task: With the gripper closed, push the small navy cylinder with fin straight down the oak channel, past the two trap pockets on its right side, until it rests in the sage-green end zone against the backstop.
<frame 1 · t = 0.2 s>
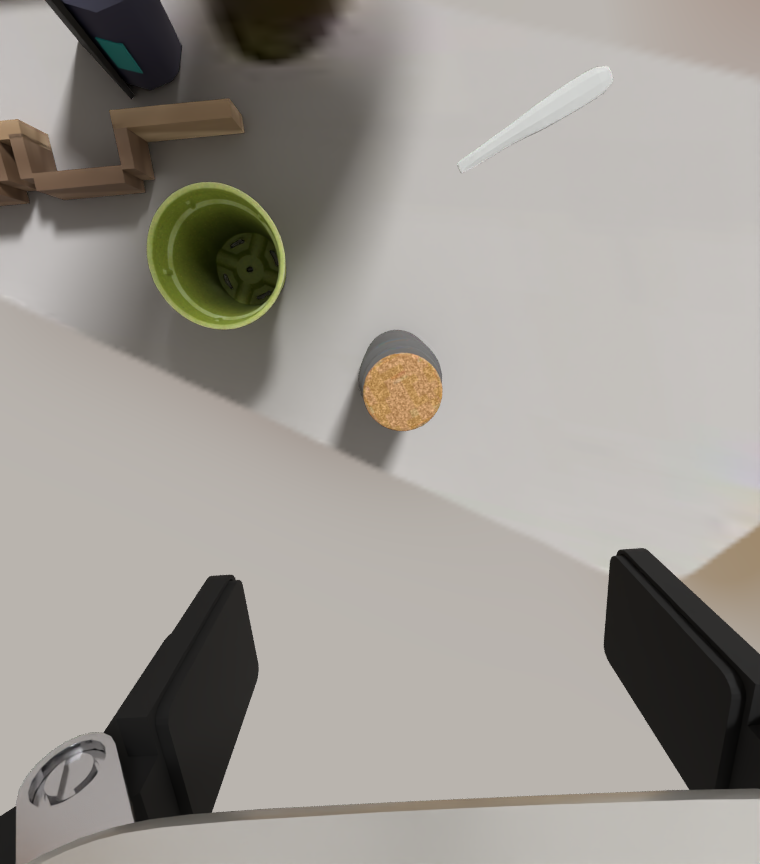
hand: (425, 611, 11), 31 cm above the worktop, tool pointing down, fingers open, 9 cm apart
bottle: (396, 361, 40), on the worktop
trap channel: (27, 53, 33), on the worktop
navy cylinder with fin: (142, 43, 33), on the worktop
plant pot: (253, 269, 38), on the worktop
white baseball bat: (456, 176, 36), on the worktop
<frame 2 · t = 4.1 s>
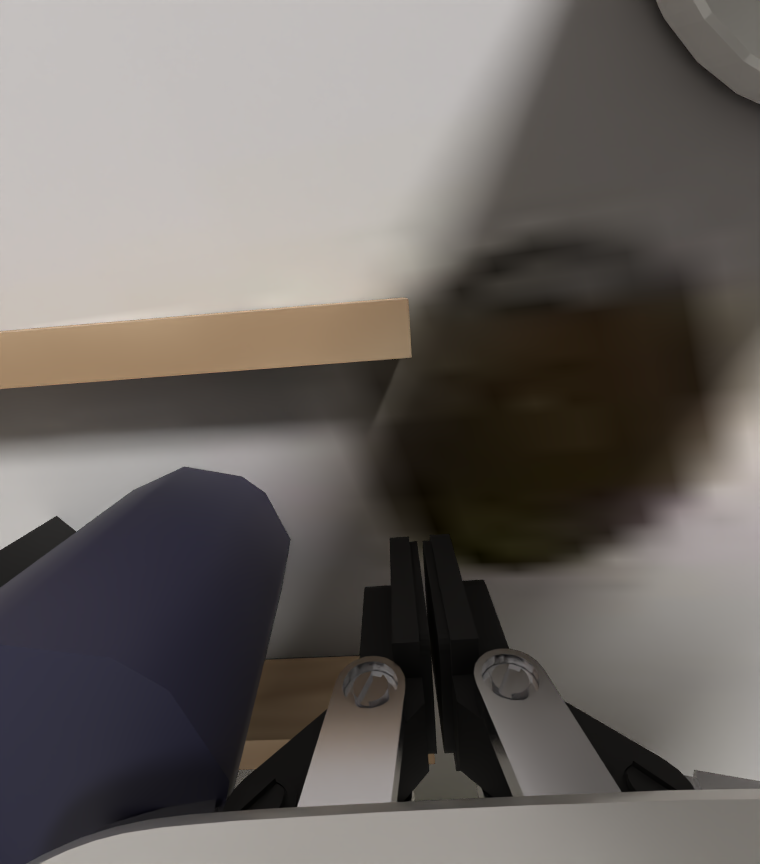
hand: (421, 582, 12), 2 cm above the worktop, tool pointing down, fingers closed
navy cylinder with fin: (196, 524, 14), on the worktop
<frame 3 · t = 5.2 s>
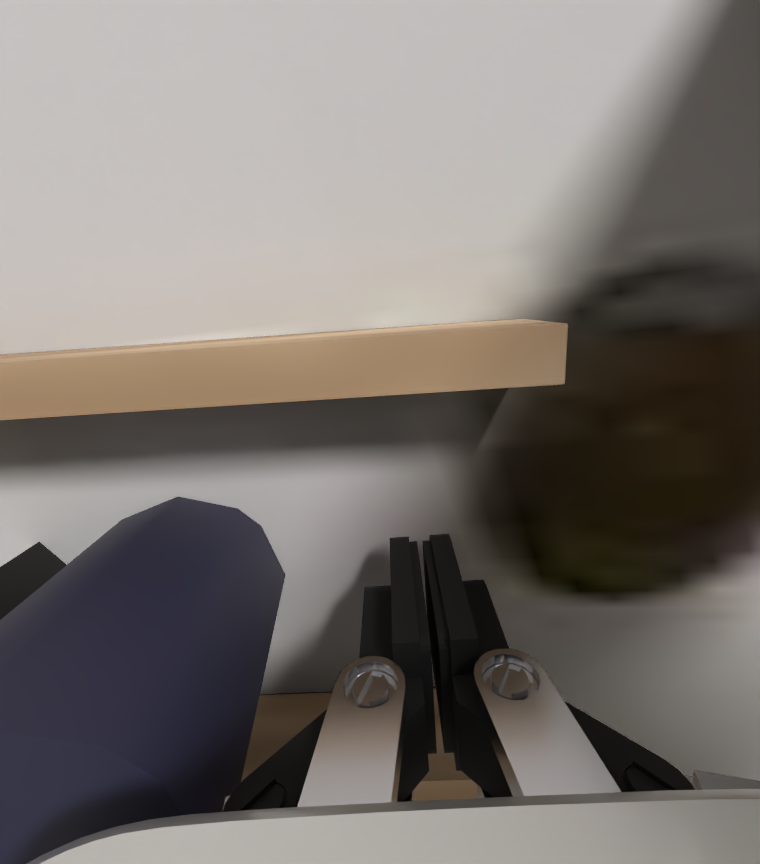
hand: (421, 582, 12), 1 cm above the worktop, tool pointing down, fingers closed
trap channel: (11, 569, 14), on the worktop
navy cylinder with fin: (187, 555, 14), on the worktop, touching gripper
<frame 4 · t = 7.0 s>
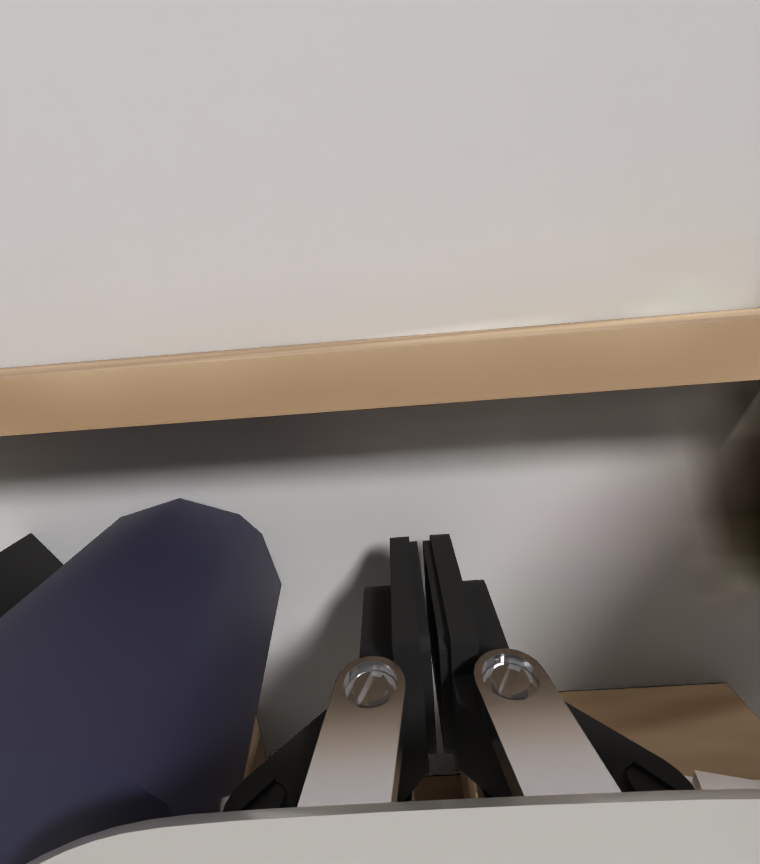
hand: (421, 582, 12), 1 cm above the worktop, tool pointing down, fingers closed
trap channel: (227, 570, 13), on the worktop
navy cylinder with fin: (182, 557, 14), on the worktop, touching gripper
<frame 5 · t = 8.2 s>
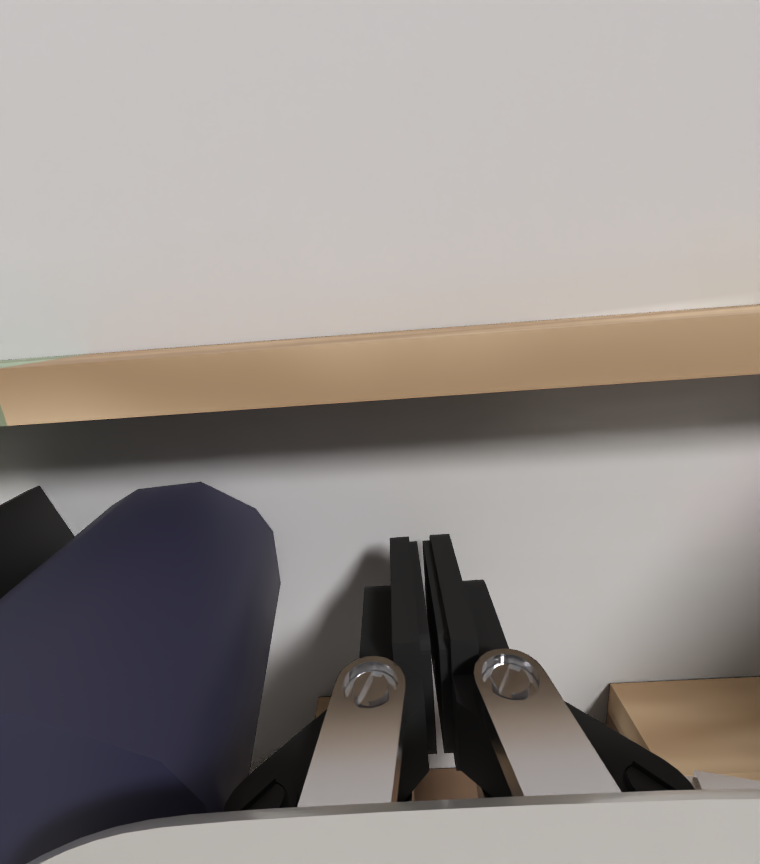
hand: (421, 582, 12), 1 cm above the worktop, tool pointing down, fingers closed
trap channel: (394, 553, 13), on the worktop
navy cylinder with fin: (188, 538, 14), on the worktop, touching gripper
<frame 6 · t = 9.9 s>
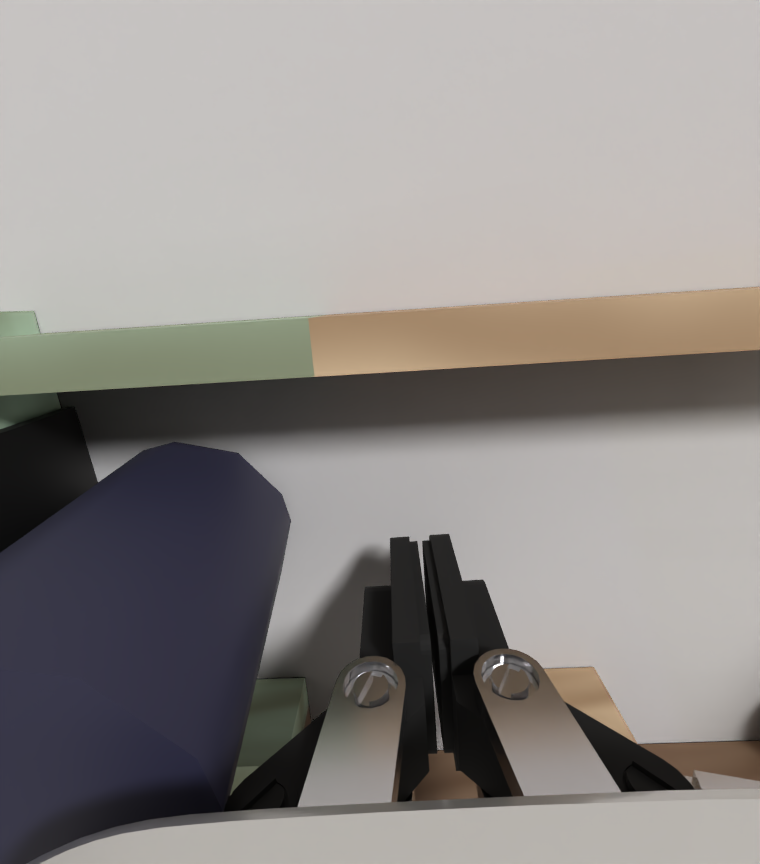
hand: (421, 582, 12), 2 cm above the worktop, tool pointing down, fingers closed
trap channel: (607, 523, 13), on the worktop
navy cylinder with fin: (204, 501, 13), on the worktop, touching gripper, trap channel
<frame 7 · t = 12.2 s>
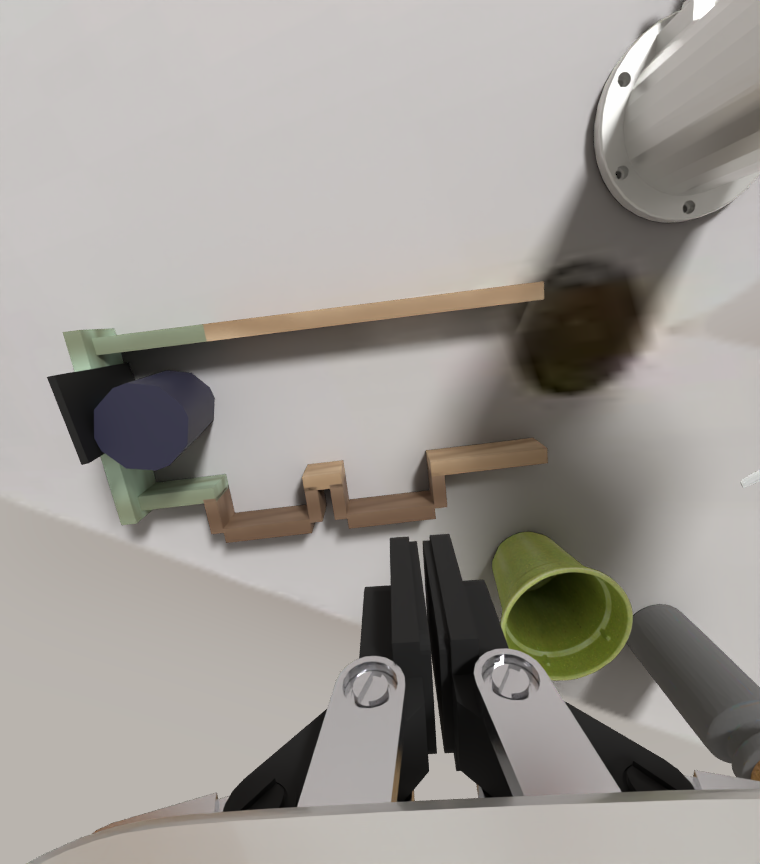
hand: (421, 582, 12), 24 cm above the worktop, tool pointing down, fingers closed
bottle: (653, 628, 41), on the worktop
trap channel: (333, 396, 35), on the worktop
navy cylinder with fin: (180, 395, 35), on the worktop
plant pot: (525, 559, 39), on the worktop
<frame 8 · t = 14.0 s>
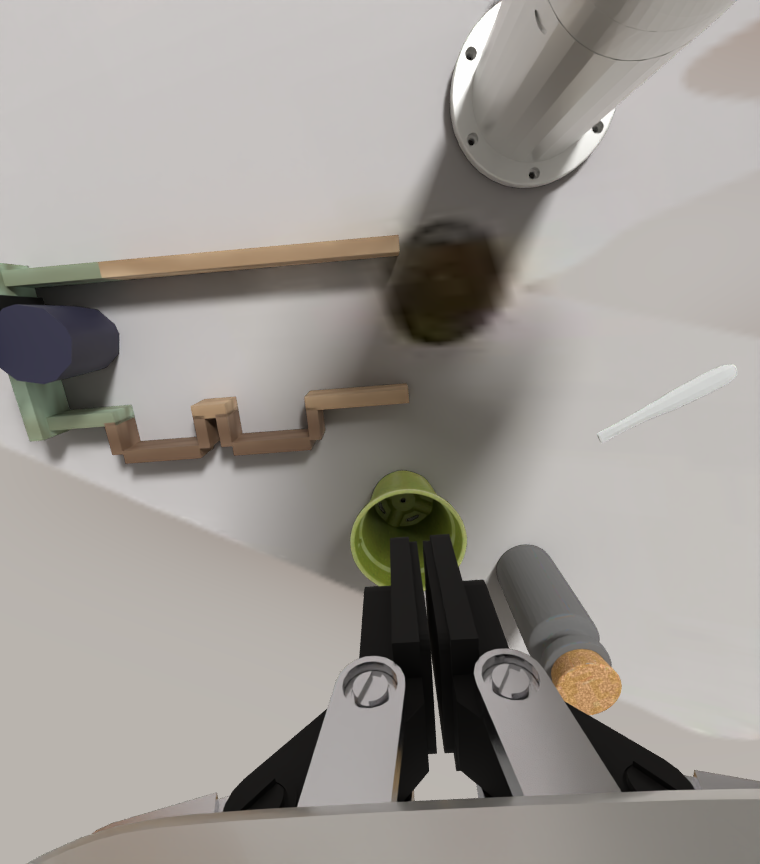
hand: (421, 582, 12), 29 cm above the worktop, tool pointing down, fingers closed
bottle: (523, 567, 45), on the worktop
trap channel: (225, 336, 39), on the worktop
navy cylinder with fin: (89, 330, 39), on the worktop
plant pot: (403, 496, 43), on the worktop
white baseball bat: (594, 441, 42), on the worktop
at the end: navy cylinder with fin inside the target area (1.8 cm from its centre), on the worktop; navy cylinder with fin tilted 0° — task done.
